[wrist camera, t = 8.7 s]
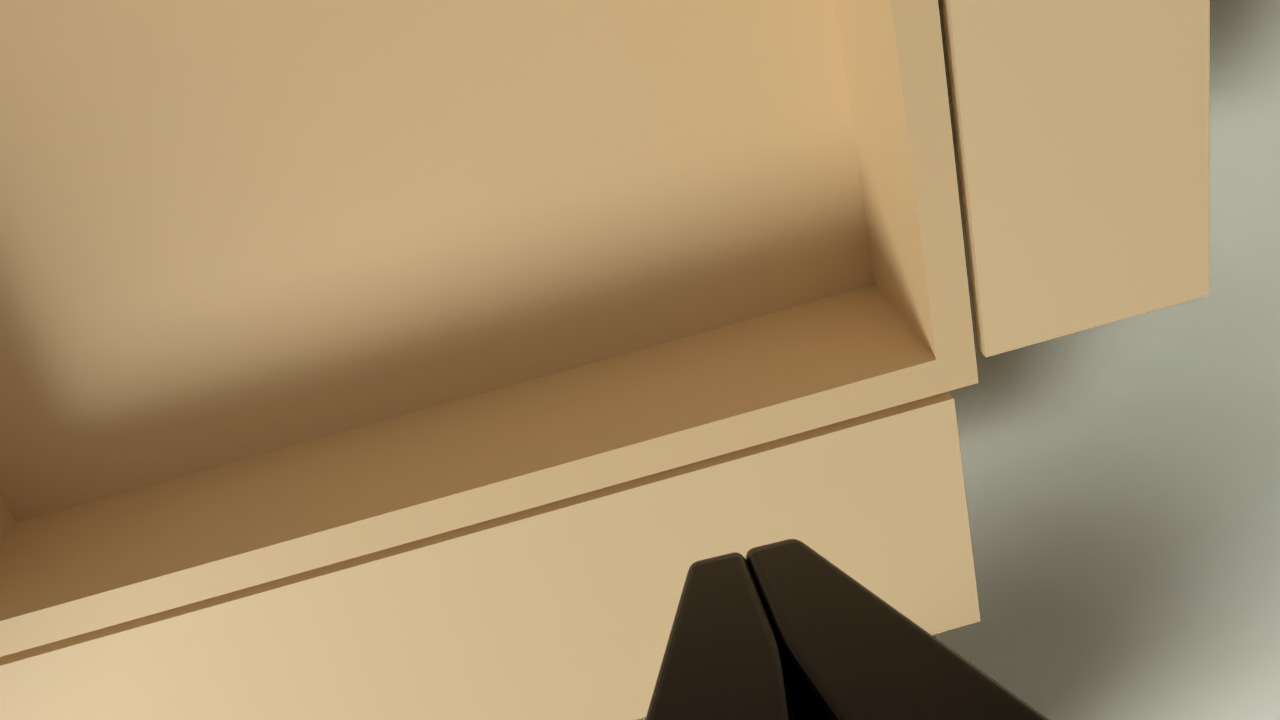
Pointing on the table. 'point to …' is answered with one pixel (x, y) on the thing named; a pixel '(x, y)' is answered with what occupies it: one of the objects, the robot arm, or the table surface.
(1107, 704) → the table surface
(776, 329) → the carton
